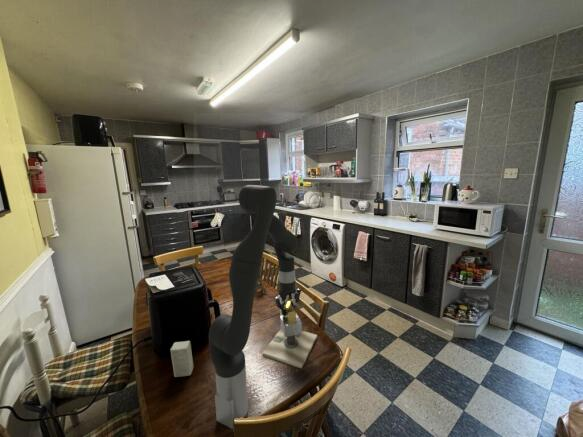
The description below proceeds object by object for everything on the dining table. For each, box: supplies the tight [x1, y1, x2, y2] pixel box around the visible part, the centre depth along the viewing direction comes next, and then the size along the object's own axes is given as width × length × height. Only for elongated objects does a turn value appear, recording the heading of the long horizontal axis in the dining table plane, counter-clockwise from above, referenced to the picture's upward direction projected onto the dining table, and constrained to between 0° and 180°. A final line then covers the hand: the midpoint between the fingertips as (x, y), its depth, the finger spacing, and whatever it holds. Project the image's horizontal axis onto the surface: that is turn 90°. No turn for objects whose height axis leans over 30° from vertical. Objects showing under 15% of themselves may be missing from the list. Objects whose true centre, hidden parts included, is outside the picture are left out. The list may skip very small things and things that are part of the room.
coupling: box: [279, 301, 303, 337], centre depth 105 cm, size 11×8×10 cm
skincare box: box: [169, 340, 194, 378], centre depth 91 cm, size 6×4×12 cm
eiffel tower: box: [254, 271, 268, 298], centre depth 153 cm, size 11×11×25 cm
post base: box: [262, 327, 318, 369], centre depth 105 cm, size 20×18×11 cm
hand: (288, 313), depth 107 cm, fingers closed on coupling, 4 cm apart
